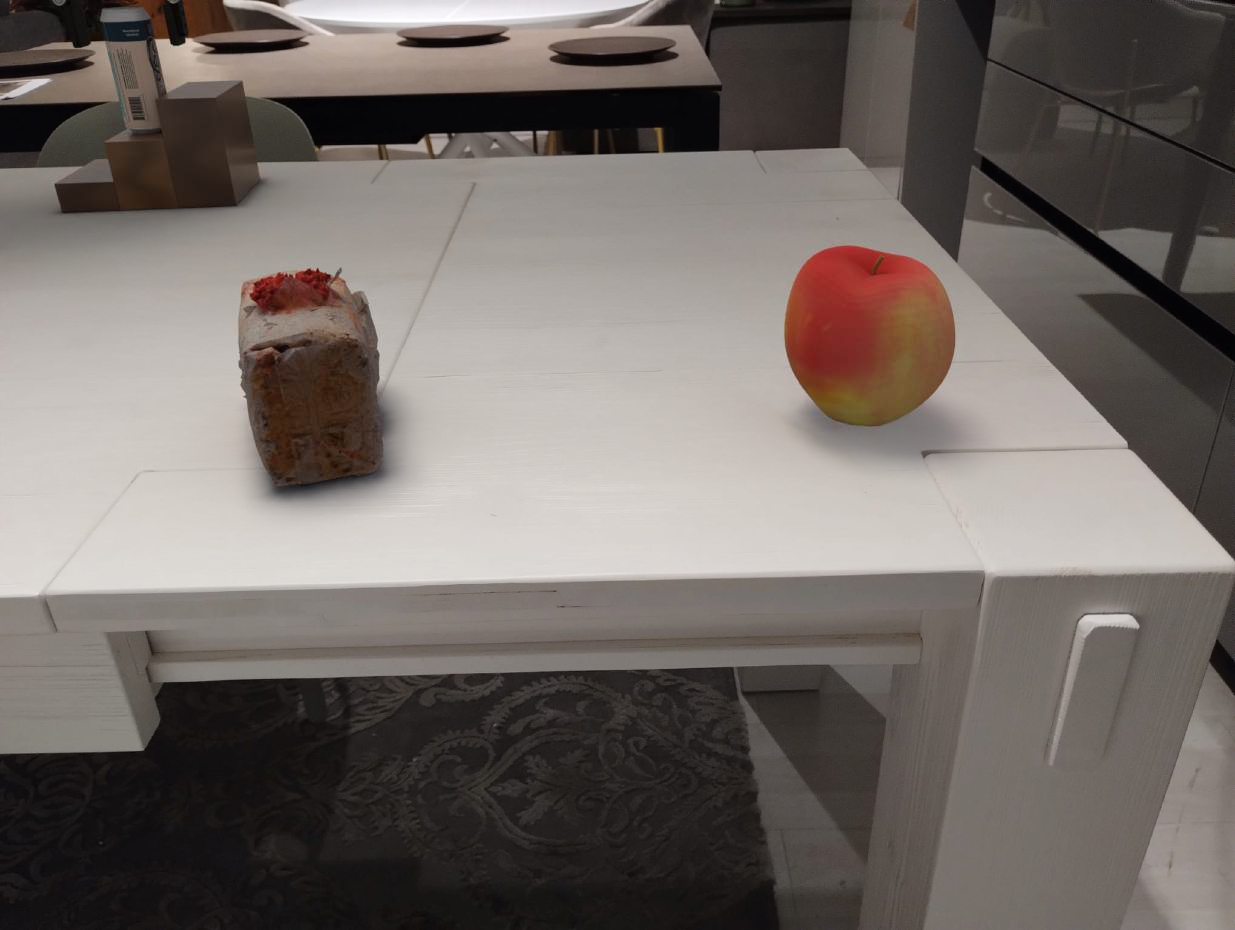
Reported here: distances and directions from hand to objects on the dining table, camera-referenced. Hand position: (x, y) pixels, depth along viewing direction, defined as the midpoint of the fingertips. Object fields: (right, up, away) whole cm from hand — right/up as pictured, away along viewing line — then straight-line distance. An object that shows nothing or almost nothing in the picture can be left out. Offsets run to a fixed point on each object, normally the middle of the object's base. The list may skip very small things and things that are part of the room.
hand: (130, 45), depth 105 cm
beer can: (0, -8, +4) cm, 9 cm away
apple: (+65, -41, -44) cm, 88 cm away
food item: (+33, -42, -45) cm, 69 cm away
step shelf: (0, -14, +7) cm, 16 cm away
